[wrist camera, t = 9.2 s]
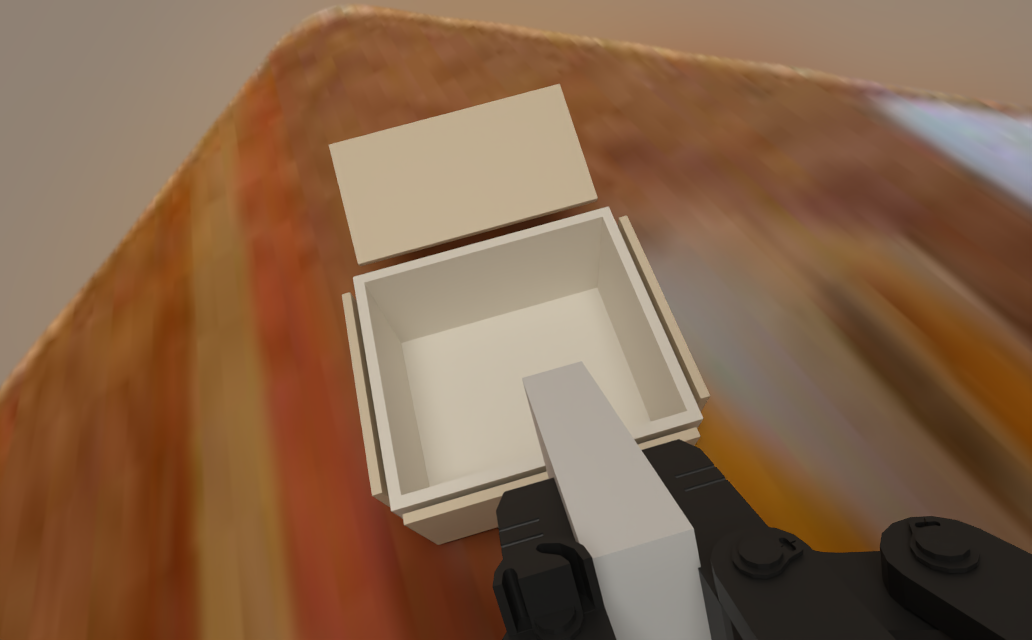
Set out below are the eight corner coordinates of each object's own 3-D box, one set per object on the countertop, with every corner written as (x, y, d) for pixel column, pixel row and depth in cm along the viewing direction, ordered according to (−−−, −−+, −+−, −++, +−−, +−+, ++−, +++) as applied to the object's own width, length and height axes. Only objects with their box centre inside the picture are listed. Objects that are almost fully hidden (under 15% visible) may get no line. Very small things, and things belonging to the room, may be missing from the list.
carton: (612, 279, 44) (621, 203, 36) (692, 471, 37) (725, 429, 29) (383, 344, 43) (339, 280, 35) (421, 553, 36) (377, 532, 28)
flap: (596, 201, 36) (558, 88, 38) (597, 198, 36) (559, 83, 37) (360, 266, 35) (331, 148, 37) (358, 264, 35) (328, 144, 36)
